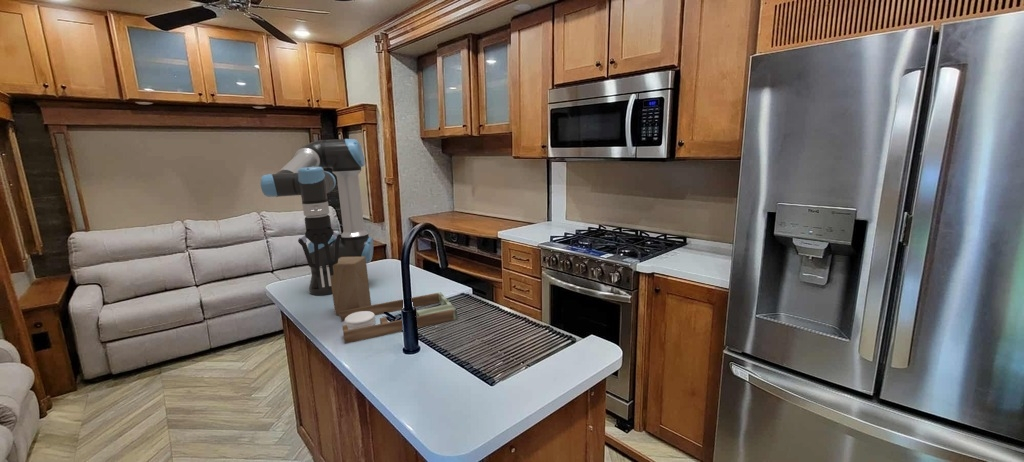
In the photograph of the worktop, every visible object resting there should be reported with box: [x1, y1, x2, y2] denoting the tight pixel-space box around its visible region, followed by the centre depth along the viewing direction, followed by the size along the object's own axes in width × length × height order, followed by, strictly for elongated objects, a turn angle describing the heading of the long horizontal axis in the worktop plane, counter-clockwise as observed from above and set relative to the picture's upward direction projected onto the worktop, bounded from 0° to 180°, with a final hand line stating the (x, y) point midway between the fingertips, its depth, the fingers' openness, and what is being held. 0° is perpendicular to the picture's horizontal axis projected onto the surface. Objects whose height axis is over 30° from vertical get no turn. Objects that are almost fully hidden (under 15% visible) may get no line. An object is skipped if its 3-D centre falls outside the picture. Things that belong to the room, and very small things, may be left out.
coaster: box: [344, 311, 376, 330], centre depth 149 cm, size 10×10×4 cm
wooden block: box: [330, 257, 372, 316], centre depth 161 cm, size 10×10×20 cm
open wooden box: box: [339, 292, 458, 344], centre depth 151 cm, size 21×37×4 cm, turn 115°
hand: (326, 285), depth 141 cm, fingers closed
